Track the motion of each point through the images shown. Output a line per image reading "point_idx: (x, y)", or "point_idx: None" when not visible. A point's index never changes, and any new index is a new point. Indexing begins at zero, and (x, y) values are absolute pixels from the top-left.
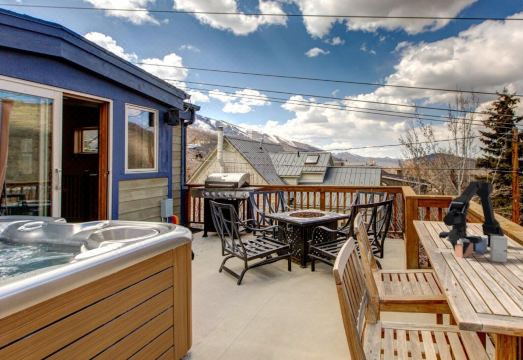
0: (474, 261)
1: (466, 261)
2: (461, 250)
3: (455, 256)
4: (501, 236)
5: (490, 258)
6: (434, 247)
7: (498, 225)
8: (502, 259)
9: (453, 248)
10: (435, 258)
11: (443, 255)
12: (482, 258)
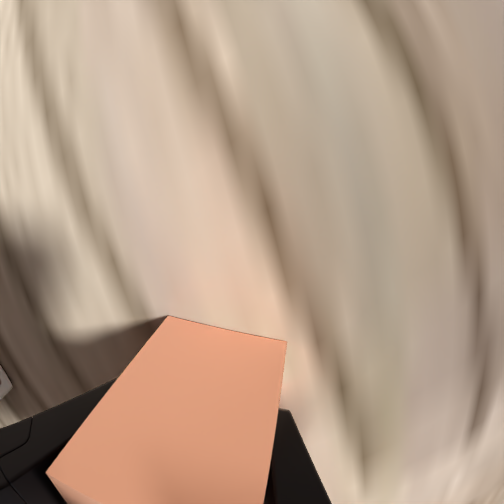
0: (18, 217)
1: (65, 137)
2: (117, 405)
3: (278, 341)
4: None
5: (1, 379)
6: (488, 497)
7: None
8: None
9: (314, 474)
10: (497, 15)
11: (461, 295)
12: (45, 389)
